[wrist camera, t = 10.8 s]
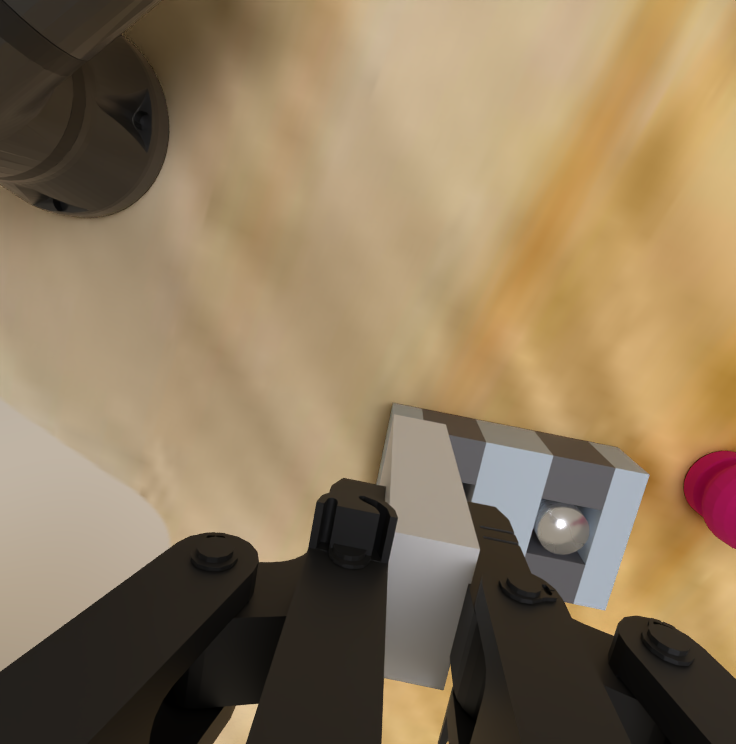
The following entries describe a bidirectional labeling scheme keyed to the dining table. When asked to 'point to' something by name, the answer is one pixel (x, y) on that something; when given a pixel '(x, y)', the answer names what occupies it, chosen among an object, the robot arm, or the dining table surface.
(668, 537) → the dining table surface
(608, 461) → the socket block
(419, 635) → the robot arm
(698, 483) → the pepper mill
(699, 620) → the dining table surface
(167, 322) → the dining table surface
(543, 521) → the grey metal peg
